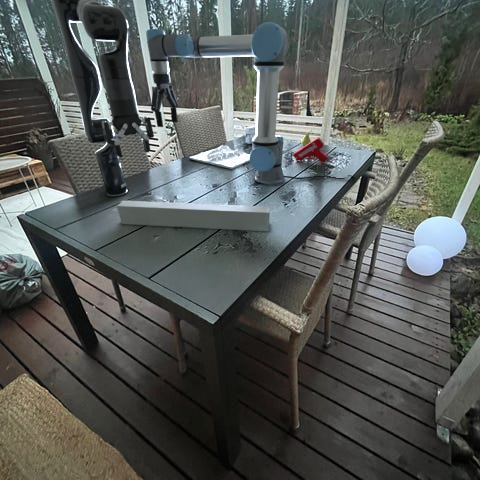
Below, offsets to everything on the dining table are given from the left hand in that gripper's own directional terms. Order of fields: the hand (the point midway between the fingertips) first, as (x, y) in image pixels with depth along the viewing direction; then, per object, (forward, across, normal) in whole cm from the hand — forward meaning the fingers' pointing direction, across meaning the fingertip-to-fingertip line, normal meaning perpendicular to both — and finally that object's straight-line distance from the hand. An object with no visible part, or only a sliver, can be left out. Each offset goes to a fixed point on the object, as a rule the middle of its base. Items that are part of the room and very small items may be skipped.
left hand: (133, 154), depth 86 cm
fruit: (+28, -141, -44) cm, 150 cm away
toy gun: (+28, -113, -17) cm, 118 cm away
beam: (+28, -15, +6) cm, 33 cm away
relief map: (+28, -75, -58) cm, 99 cm away
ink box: (+29, -118, -80) cm, 146 cm away
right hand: (0, -33, -44) cm, 55 cm away
